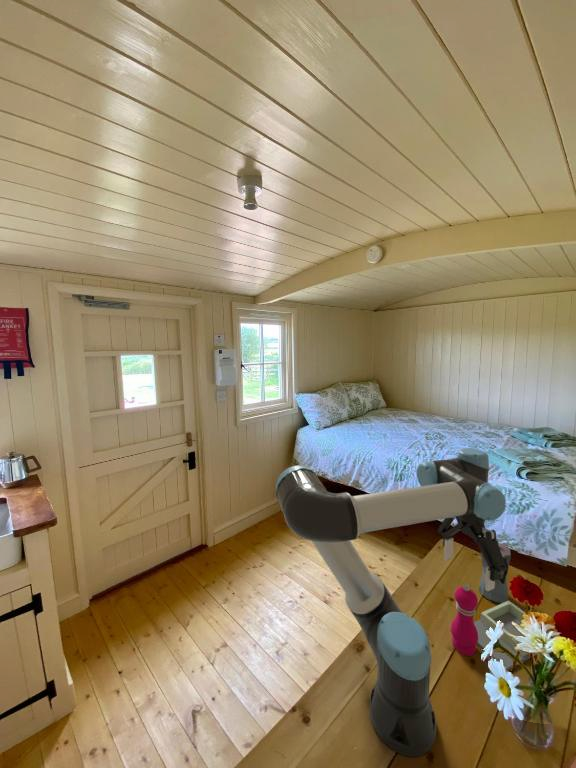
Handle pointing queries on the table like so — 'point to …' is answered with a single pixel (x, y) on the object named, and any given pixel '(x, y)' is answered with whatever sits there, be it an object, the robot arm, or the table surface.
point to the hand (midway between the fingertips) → (467, 572)
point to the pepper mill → (465, 621)
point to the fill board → (506, 615)
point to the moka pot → (501, 589)
